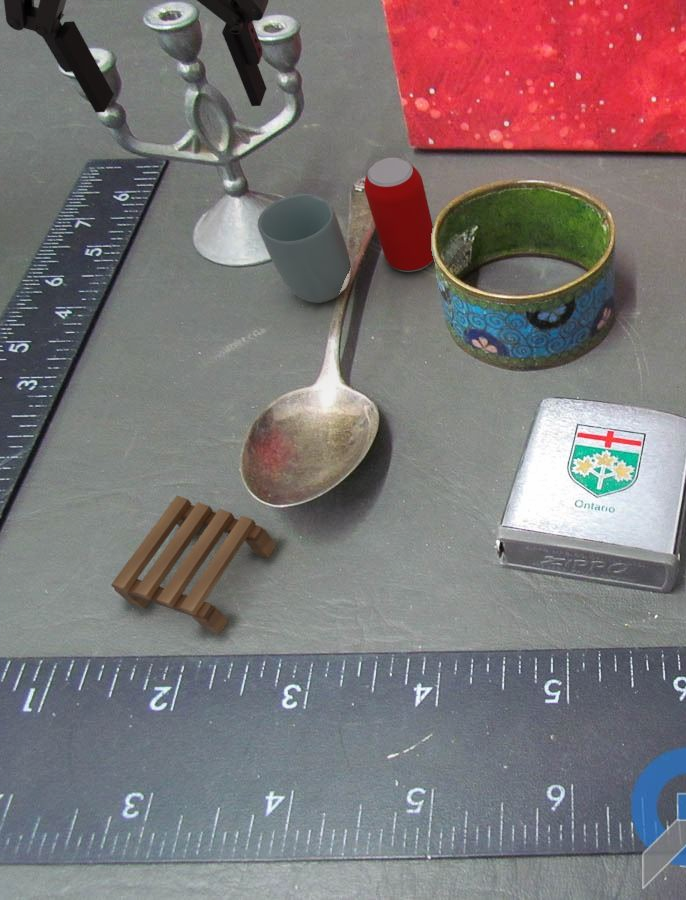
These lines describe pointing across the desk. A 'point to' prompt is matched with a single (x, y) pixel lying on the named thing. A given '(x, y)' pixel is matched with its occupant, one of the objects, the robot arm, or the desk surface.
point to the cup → (306, 246)
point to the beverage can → (400, 213)
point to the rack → (189, 560)
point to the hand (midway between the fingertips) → (182, 100)
